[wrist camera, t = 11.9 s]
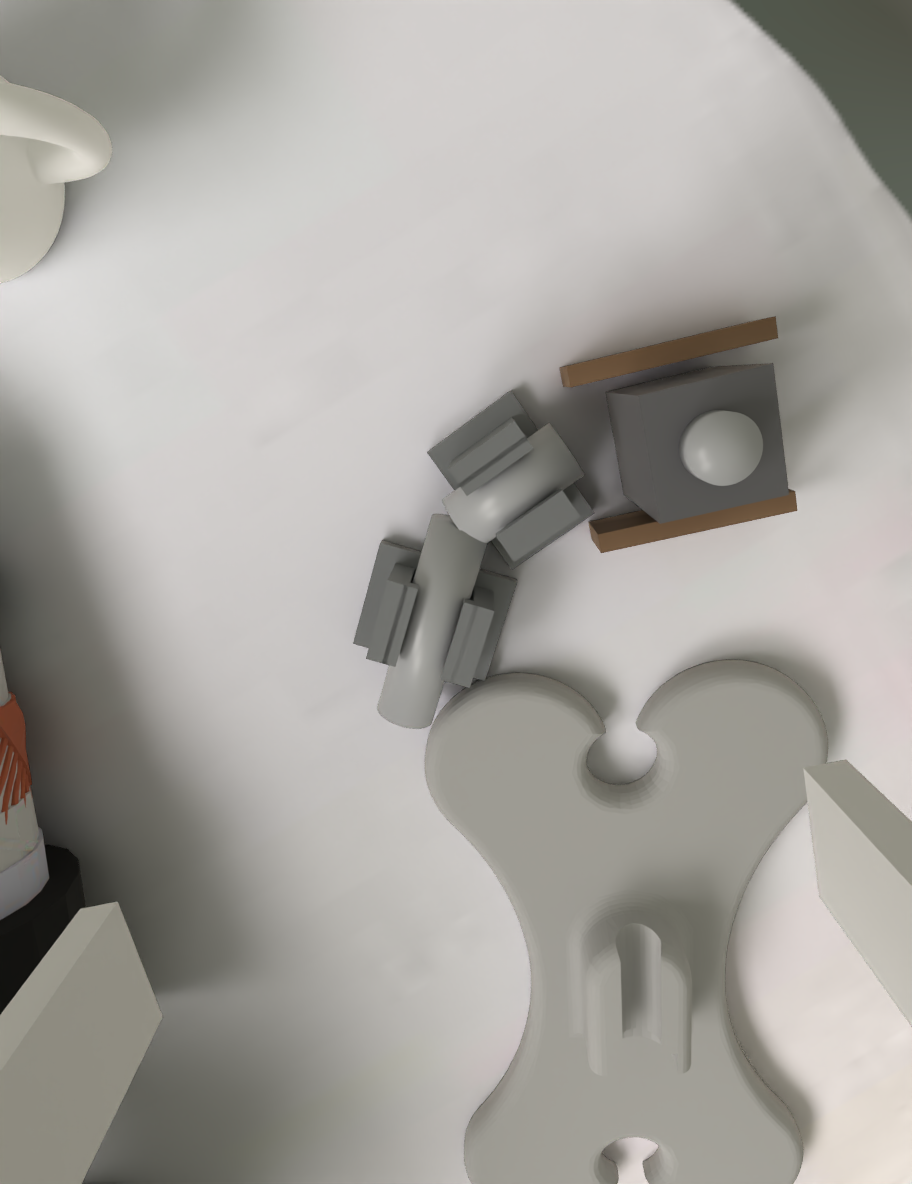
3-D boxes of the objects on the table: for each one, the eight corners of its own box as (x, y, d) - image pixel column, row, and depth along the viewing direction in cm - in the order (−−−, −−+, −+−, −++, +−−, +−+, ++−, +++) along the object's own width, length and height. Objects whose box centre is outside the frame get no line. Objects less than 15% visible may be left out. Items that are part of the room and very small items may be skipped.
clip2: (502, 572, 34) (504, 594, 31) (419, 458, 33) (411, 467, 29) (601, 504, 33) (616, 518, 30) (520, 383, 32) (524, 383, 28)
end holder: (771, 499, 33) (797, 510, 30) (591, 539, 34) (601, 553, 31) (750, 321, 31) (775, 316, 28) (559, 367, 32) (566, 366, 29)
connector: (710, 366, 32) (787, 362, 24) (725, 471, 33) (803, 500, 25) (605, 392, 32) (645, 396, 24) (623, 494, 33) (667, 530, 25)
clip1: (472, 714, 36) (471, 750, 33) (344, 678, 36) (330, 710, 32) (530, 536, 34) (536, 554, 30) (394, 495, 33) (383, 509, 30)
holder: (819, 649, 35) (873, 692, 30) (789, 1186, 44) (827, 1284, 40) (418, 673, 36) (408, 719, 31) (470, 1194, 46) (469, 1290, 41)
